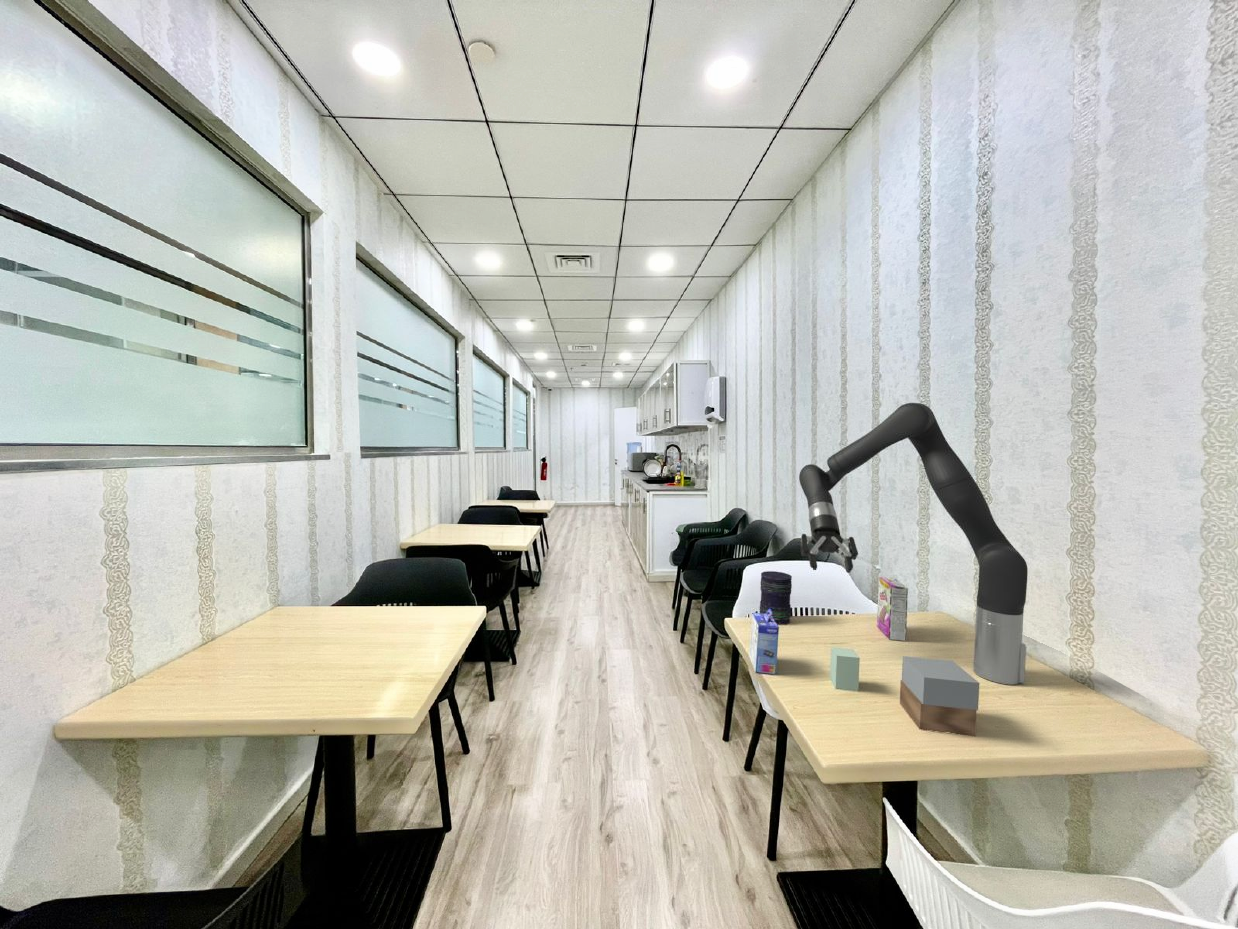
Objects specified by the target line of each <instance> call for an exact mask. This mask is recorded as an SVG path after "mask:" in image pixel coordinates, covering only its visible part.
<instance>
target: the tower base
mask: <svg viewBox="0 0 1238 929" xmlns="http://www.w3.org/2000/svg"><path fill="white" fill-rule="evenodd" d="M899 688H900V690H899V691H900V692H899V693H900V694H899V705H901V707H902V709H903V710H904V711H905V713H906V714H907V715H908V716H909V718H910V719H911V721H913V722H914V724H915V726H916V727H917V728H918V729H919V730H920V729H921V730H920V731H927V730H932V731H931V732H935V731H938V733H943V732H950V733H949V734H951V733H955V734H954V735H959V734H960V735H961V736H968V737H969V736H970V737H976V731H977V730H976V727H977V711H978V710H971V709H962V708H953V707H943V706H934V705H925V704H922V703H921V702H920V700H919V699H918V698H917V697H916V696H915V695H914V694H913V693H912V691H911V690H910V689H909V688H908V687H907V686H906V685H905V684H904V682H903V681H902V679H901V680H900V687H899ZM922 729H923V730H922Z"/></svg>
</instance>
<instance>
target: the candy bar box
mask: <svg viewBox="0 0 1238 929" xmlns="http://www.w3.org/2000/svg"><path fill="white" fill-rule="evenodd" d="M877 587H878V590H877V618H876V621H877V623H876V626H877V628H878V629H879V631H881V632H882V633H883V635H885V637H887V638H888V640H890V641H897V642H898V641H899V642H906V641H907V623H908V619H907V618H908V595H909V594H908V592H909V588H908V587H907V586H906V585H905V584H903V583H901V582H900V581H898V580H897V579H896V578H895V577H884V576H882V577H881V576H880V577H878V586H877Z"/></svg>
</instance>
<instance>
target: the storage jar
mask: <svg viewBox="0 0 1238 929" xmlns="http://www.w3.org/2000/svg"><path fill="white" fill-rule="evenodd" d="M792 578H793V576H792V575H791V574H789V573H785V572H782V571H772V570H771V571H770V570H768V571H762V572H761V573H760V586H759V587H760V593H761V594H760V602H759V613H762V614H766V612H767V611H768V610H769V609H770V610H771V611H772V613H773V614H772V617H773V619H774V620H775V622H776V623H777V625H778V626H785V625H788V624H790V623H791V614H792V610H791V594H792V589H793V588H792V587H793V586H792V584H793V583H792V581H793V580H792ZM768 614H770V613H768Z"/></svg>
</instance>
